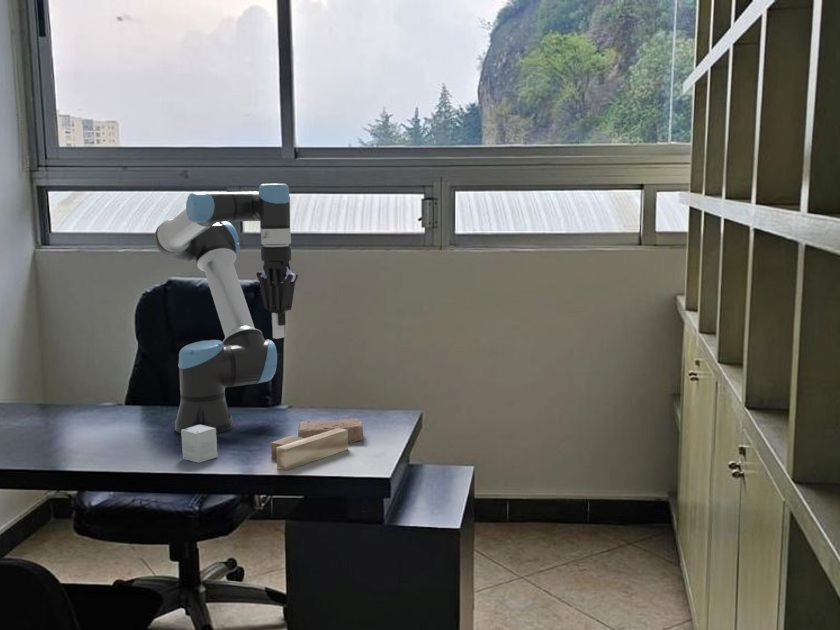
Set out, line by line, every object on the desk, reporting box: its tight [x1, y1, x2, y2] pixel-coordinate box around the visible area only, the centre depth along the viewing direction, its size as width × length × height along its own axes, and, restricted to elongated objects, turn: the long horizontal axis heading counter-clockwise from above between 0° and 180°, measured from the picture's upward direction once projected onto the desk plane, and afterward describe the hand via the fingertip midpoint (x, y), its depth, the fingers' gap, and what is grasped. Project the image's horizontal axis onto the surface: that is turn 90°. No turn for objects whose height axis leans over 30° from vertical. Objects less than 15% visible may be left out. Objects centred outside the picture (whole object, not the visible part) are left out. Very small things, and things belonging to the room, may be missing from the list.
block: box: [270, 435, 305, 460], centre depth 215 cm, size 7×7×4 cm
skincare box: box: [180, 425, 218, 464], centre depth 213 cm, size 6×6×7 cm
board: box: [276, 428, 349, 471], centre depth 212 cm, size 3×21×5 cm, turn 142°
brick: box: [297, 417, 364, 443], centre depth 229 cm, size 17×8×5 cm, turn 98°
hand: (278, 337), depth 227 cm, fingers closed
